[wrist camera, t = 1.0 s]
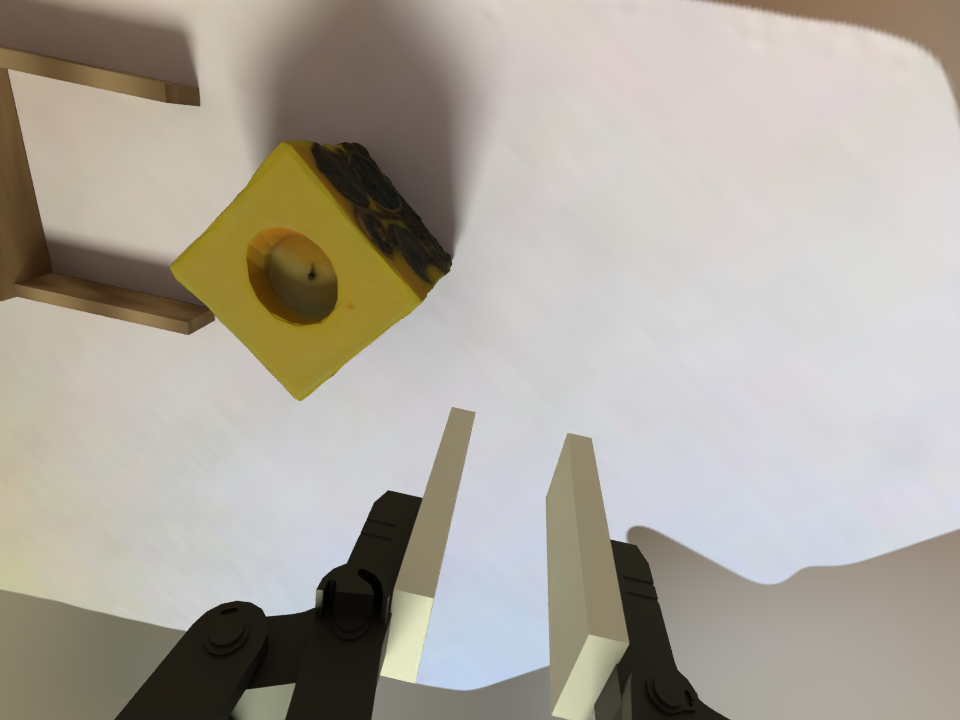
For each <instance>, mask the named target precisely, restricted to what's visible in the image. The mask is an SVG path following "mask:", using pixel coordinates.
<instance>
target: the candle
mask: <svg viewBox="0 0 960 720" xmlns="http://www.w3.org/2000/svg"><path fill="white" fill-rule="evenodd" d="M451 266H452V261H451V258H450V255H449V254H447V253H445V252H444V250H443V249H442V247H441V246H440V245H439V243H438V242H437V240H436V238H435V237H433V236H432V235H431V234H430V233H429V231H428V230H427V228H426V227H425V225H424V224H423V223H422V222H421V218H420V217H419V216H418V215H417V214H416V213H415V212H414V211H413V209H412V208H411V207H410V206H409V205H408V204H407V203H406V202H405V200H404V199H403V198H402V197H401V195H400V194H399V193H398V192H397V191H396V189H395V187H394V186H393V185H392V183H391V181H390V179H389V178H388V177H386V176H385V175H384V174H383V173H381V171H380V169H379V168H378V166H377V165H376V163H375V162H374V161H373V160H372V159H371V158H370V155H369V153H368V151H367V149H366V148H364V147H363V146H361V145H360V144H358V143H352V144H350V143H346V142H344V143H341V144H338V145H336V146H335V145H328V144H324V145H322V146H321V145H320V144H319V143H316V142H310V141H286V142H281V143H280V144H279V145H278V146H277V147H276V148H275V149H274V150H273V151H272V152H271V153H270V154H269V155H268V157H267V158H266V159H265V161H264V162H263V163H262V164H261V166H260V167H259V168H258V170H257V171H256V172H255V174H254V175H253V177H252V178H251V180H250V181H249V183H248V184H247V186H246V187H245V188H244V189H243V190H242V191H241V192H240V193H239V194H238V195H237V197H236V198H235V199H234V201H233V202H232V203H231V204H230V205H229V206H228V207H227V208H226V209H225V210H224V211H223V212H222V213H221V214H220V215H219V216H218V217H217V218H216V219H215V221H214V222H213V223H212V224H211V225H210V226H209V227H208V228H207V230H206V231H205V232H204V233H203V234H202V235H201V236H200V237H199V238H197V239H196V240H195V241H194V242H193V243H192V244H191V245H190V246H189V247H188V248H187V249H186V250H185V251H184V252H183V253H182V254H181V255H180V256H179V257H178V258H177V259H176V260H175V261H174V262H173V264H172V265H171V266H170V269H171V271H172V273H173V275H174V277H175V279H176V280H177V281H178V282H179V283H181V284H182V285H183V286H184V287H185V288H186V289H188V290H189V291H190V292H191V293H192V294H193V295H195V296H196V297H197V298H198V299H199V300H200V301H202V302H203V303H204V304H205V305H206V306H207V307H208V308H209V309H210V310H211V311H212V312H213V314H214V315H215V316H216V317H217V318H218V319H219V320H220V321H221V322H222V323H223V324H224V325H225V326H226V327H227V328H228V329H229V330H230V331H231V332H232V333H233V334H234V335H235V336H236V337H237V338H238V339H239V340H240V341H241V342H242V343H243V344H244V345H245V346H246V347H247V348H248V349H249V350H250V351H251V352H252V353H253V354H254V355H255V357H256V358H257V359H258V360H259V361H260V362H261V363H262V364H263V365H264V366H265V368H266V369H267V370H268V371H269V372H270V373H271V374H272V375H273V376H274V377H275V378H276V379H277V380H278V381H279V382H280V383H281V384H282V385H283V386H284V387H285V388H286V390H287V391H288V392H289V393H290V394H291V395H292V396H293V397H294V398H295V399H297V400H299V401H302V400H303V399H305V398H306V397H307V396H309V395H310V394H311V393H312V392H314V391H315V390H316V389H317V388H318V387H319V386H320V385H321V384H322V383H324V382H325V381H326V380H327V379H329V378H330V377H332V376H333V375H334V374H335V373H336V372H337V371H338V370H339V369H340V368H341V367H342V366H343V365H344V364H346V363H347V362H348V361H349V360H351V359H352V358H353V357H354V356H356V355H357V354H358V353H359V352H360V351H362V350H363V349H364V348H365V347H367V346H368V345H369V344H370V343H372V342H373V341H374V340H376V339H377V338H378V337H379V336H381V335H382V334H383V333H384V332H385V331H387V330H388V329H389V328H390V327H391V326H393V325H394V324H395V323H397V322H398V321H400V320H401V319H403V318H404V317H406V316H407V315H408V314H410V313H411V312H412V311H413V310H414V309H415V308H416V307H417V306H418V305H420V304H421V303H422V302H423V301H424V299H425V298H426V297H427V293H429V292H430V291H431V289H433V287H434V285H435V284H436V283H437V282H438V281H439V279H440V278H442V277H443V276H445V275H446V274H447V273H448V272H449V271H450V267H451Z"/></svg>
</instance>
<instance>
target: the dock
mask: <svg viewBox="0 0 960 720" xmlns="http://www.w3.org/2000/svg"><path fill="white" fill-rule="evenodd" d="M7 69H11V70H16V71H21V72H25V73H30V74H35V75H39V76H44V77H49V78H53V79H58V80H63V81H67V82H72V83H77V84H81V85H86V86H91V87H95V88H100V89H105V90H109V91H114V92H119V93H123V94H128V95H132V96H137V97H142V98H146V99H151V100H156V101H160V102H165V103H173V104H183V105H193V106H200V100H199V89H198V88H194V87H189V86H184V85H180V84H175V83H170V82H166V81H161V80H156V79H152V78H147V77H142V76H138V75H133V74H128V73H124V72H119V71H114V70H109V69H105V68H100V67H95V66H91V65H86V64H81V63H77V62H72V61H67V60H63V59H58V58H53V57H49V56H44V55H39V54H35V53H30V52H25V51H21V50H16V49H11V48H7V47H2V46H0V301H4V300H7V299H10V298H14V297H21V298H25V299H30V300H34V301H39V302H43V303H48V304H52V305H57V306H61V307H66V308H70V309H75V310H79V311H84V312H88V313H93V314H97V315H101V316H106V317H110V318H115V319H119V320H124V321H128V322H133V323H137V324H142V325H146V326H151V327H155V328H160V329H164V330H169V331H173V332H178V333H182V334H187V335H190V334H191V333H193V332H195V331H197V330H199V329H200V328H202V327H204V326H206V325H208V324H209V323H211V322H213V321H215V320H214V314H213V312H212V311H211V310H210V309H209V308H208V307H204V306H199V305H195V304H190V303H186V302H181V301H177V300H172V299H168V298H163V297H159V296H154V295H150V294H145V293H141V292H136V291H132V290H127V289H123V288H118V287H114V286H109V285H104V284H100V283H95V282H91V281H86V280H82V279H77V278H73V277H68V276H64V275H59V274H55V273H52V269H51V265H50V260H49V256H48V251H47V247H46V242H45V238H44V233H43V229H42V224H41V220H40V216H39V211H38V207H37V202H36V198H35V193H34V189H33V184H32V180H31V175H30V171H29V166H28V162H27V157H26V153H25V149H24V144H23V140H22V135H21V131H20V126H19V122H18V117H17V113H16V108H15V104H14V99H13V95H12V90H11V86H10V82H9V77H8V73H7Z"/></svg>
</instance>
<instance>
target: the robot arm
mask: <svg viewBox="0 0 960 720" xmlns="http://www.w3.org/2000/svg"><path fill="white" fill-rule="evenodd" d="M475 413H476V412H472V411H468V410H463V409H459V408H454V407H452V408H451V412H450V415H449V418H448V421H447V424H446V427H445V430H444V433H443V437H442V440H441V443H440V446H439V449H438V452H437V455H436V459H435V462H434V465H433V468H432V471H431V474H430V477H429V480H428V484H427V487H426V490H425V493H424V496H423V498H420V497H416V496H411V495H407V494H403V493H398V492H394V491H389V490H388V491H387V492H386V493H385V494H383V495H382V496H381V497H380V498H379V499H378V500H377V501H375V502H374V504H373V506H372V509H371V511H370V513H369V515H368V518H367V521H366V522H365V524H364V526H363V529H362V531H361V534H360V535H359V538H358V540H357V542H356V544H355V546H354V549H353V551H352V553H351V555H350V558H349V560H348V562H347V564H344V565H342V566H339V567H337V568H334V569H333V570H331V571H330V572H329V573H328V574H327V575H326V576H324V577H323V578H322V580H321V582H320V584H319V586H318V588H317V589H316V605H315V608H313V609H310V610H308V611H305V612H301V613H296V614H289V615H279V616H268V617H266V616H265V614H264V612H263V610H262V609H261V608H259V607H258V606H256V605H254V604H253V603H251V602H243V601H234V602H229V603H224V604H221V605H219V606H217V607H215V608H213V609H211V610H209V611H207V612H206V613H205V614H203V615H202V616H201V617H200V618H199V619H198V620H197V621H196V622H195V623H194V624H193V625H192V626H191V627H190V628H189V630H188V631H187V632H186V633H185V635H184V636H183V637H182V638H181V639H180V641H179V642H178V643H177V644H176V645H175V647H174V648H173V649H172V650H171V651H170V653H169V654H168V655H167V656H166V658H165V659H164V660H163V661H162V662H161V664H160V665H159V666H158V667H157V669H156V670H155V671H154V672H153V673H152V675H151V676H150V677H149V678H148V679H147V681H146V682H145V683H144V684H143V686H142V687H141V688H140V689H139V690H138V692H137V693H136V694H135V695H134V697H133V698H132V699H131V700H130V701H129V702H128V704H127V705H126V706H125V708H124V709H123V710H122V711H121V712H120V713H119V715H118V716H117V717H116V718H115V719H114V720H371V718H372V711H373V705H374V697H375V691H376V686H377V683H378V679H379V676H380V675H382V676H386V677H390V678H395V679H399V680H403V681H407V682H412V683H415V681H416V677H417V672H418V668H419V663H420V659H421V654H422V650H423V646H424V641H425V637H426V632H427V628H428V623H429V619H430V614H431V610H432V605H433V601H434V597H435V592H436V588H437V583H438V579H439V574H440V570H441V565H442V561H443V556H444V552H445V548H446V543H447V539H448V534H449V530H450V525H451V521H452V516H453V512H454V508H455V503H456V499H457V494H458V490H459V485H460V481H461V476H462V472H463V467H464V463H465V458H466V454H467V449H468V445H469V440H470V435H471V431H472V426H473V422H474V417H475ZM546 528H547V568H548V607H549V647H550V686H551V715H552V716H557V717H561V718H565V719H569V720H589V718H590V716H591V715H592V713H593V711H594V709H595V718H596V720H730V719H728V718H726V717H724V716H723V715H721V714H719V713H717V712H716V711H714V710H713V709H711V708H710V707H708V706H707V705H705V704H704V703H703V702H702V701H700V700H699V699H698V695H697V693H696V692H695V690H694V689H693V687H692V685H691V684H690V683H689V681H688V679H686V678H685V677H684V676H683V675H682V674H681V673H680V672H679V671H678V670H677V667H676V664H675V662H674V658H673V654H672V650H671V646H670V643H669V639H668V635H667V632H666V628H665V624H664V620H663V616H662V613H661V609H660V605H659V603H658V602H657V600H658V597H657V594H656V590H655V587H654V586H653V579H652V575H651V571H650V568H649V564H648V562H647V561H646V559H645V558H644V556H643V555H642V553H641V552H640V550H639V549H638V547H637V546H636V545H632V544H628V543H623V542H619V541H615V540H610V536H609V531H608V525H607V520H606V514H605V509H604V503H603V498H602V493H601V487H600V482H599V476H598V471H597V466H596V460H595V455H594V449H593V444H592V438H588V437H584V436H579V435H575V434H570V433H567V436H566V439H565V442H564V445H563V448H562V451H561V454H560V457H559V460H558V463H557V466H556V469H555V472H554V475H553V478H552V481H551V484H550V487H549V490H548V493H547V496H546Z"/></svg>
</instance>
